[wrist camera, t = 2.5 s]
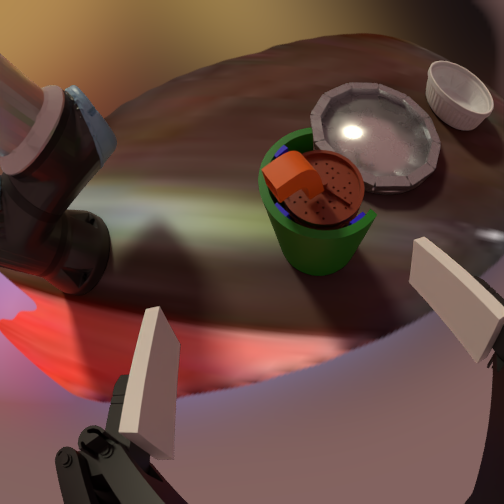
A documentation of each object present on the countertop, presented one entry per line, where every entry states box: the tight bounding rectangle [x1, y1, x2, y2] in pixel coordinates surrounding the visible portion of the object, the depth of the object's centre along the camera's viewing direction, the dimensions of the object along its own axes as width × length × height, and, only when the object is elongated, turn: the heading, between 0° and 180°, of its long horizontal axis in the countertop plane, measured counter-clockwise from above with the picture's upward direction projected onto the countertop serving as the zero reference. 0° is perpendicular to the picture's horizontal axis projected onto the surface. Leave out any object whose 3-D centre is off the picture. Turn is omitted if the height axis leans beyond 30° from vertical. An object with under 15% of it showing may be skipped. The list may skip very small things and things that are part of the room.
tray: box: [310, 83, 441, 195], centre depth 36 cm, size 20×20×3 cm
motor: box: [258, 128, 377, 276], centre depth 26 cm, size 10×9×20 cm
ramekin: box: [426, 61, 493, 131], centre depth 32 cm, size 13×13×7 cm
